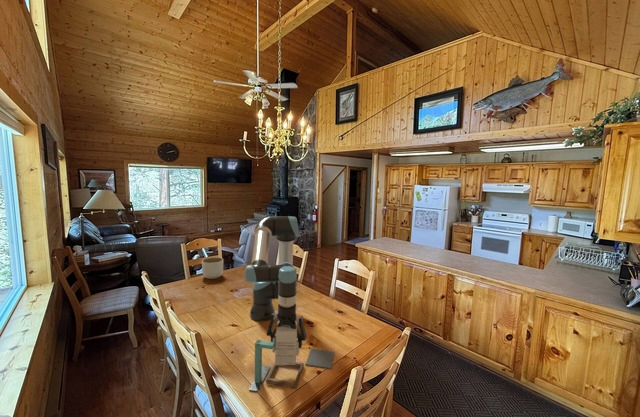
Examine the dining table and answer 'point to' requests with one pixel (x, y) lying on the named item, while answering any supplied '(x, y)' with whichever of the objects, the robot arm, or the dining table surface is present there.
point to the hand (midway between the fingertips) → (286, 352)
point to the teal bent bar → (260, 357)
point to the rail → (256, 386)
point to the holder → (282, 382)
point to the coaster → (320, 358)
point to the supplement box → (285, 345)
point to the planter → (212, 267)
